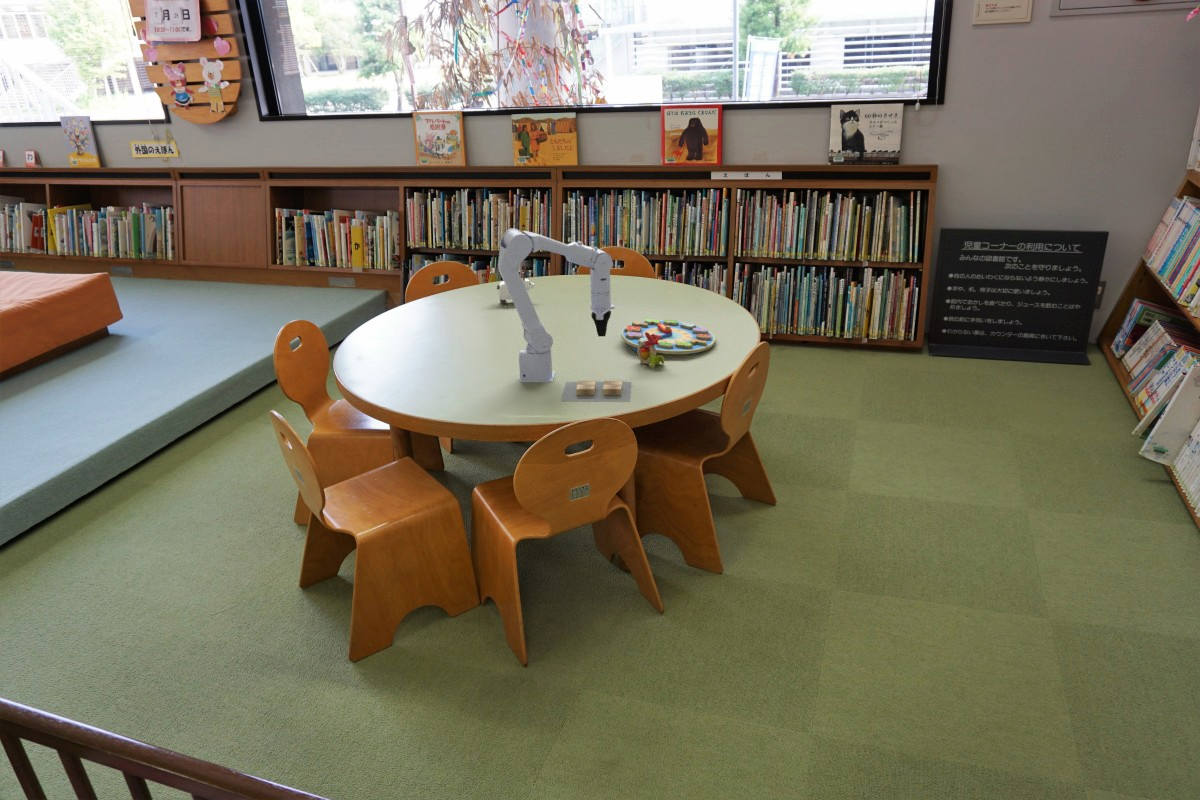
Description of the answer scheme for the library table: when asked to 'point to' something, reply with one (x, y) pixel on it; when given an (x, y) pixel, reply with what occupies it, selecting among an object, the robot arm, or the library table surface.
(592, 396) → the felt mat
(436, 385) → the library table surface
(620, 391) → the right oak tile
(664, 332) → the shape sorting clock
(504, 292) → the giant panda
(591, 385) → the left oak tile
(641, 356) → the bird rattle
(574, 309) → the library table surface
